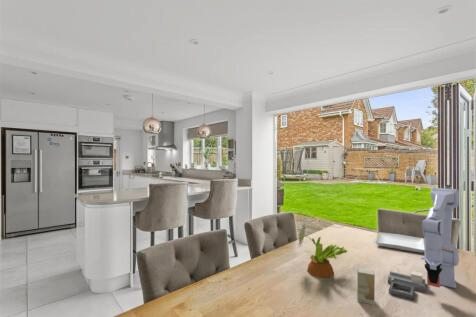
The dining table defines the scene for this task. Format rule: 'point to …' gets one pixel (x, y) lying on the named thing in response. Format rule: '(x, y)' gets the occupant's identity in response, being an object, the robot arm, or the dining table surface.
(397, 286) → the grey square frame
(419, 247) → the square plate
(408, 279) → the breaker panel
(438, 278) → the red block
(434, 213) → the robot arm
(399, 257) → the dining table surface
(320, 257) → the decorative plant
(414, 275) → the block
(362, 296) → the skincare box
